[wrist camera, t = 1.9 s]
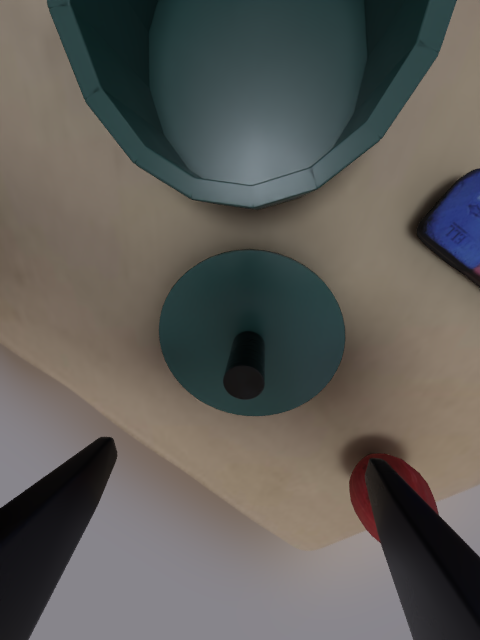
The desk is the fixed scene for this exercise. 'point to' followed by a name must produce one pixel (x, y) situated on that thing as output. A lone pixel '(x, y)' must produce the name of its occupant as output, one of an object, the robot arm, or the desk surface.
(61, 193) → the desk surface
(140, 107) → the pot
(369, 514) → the onion
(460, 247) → the eraser
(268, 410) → the lid
